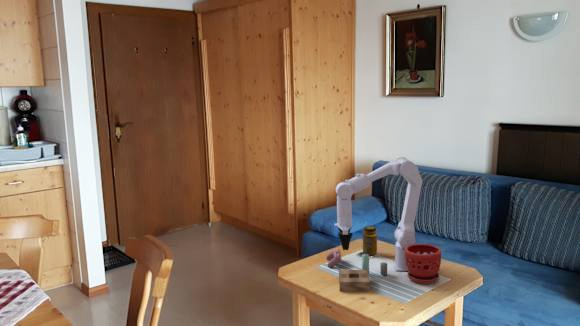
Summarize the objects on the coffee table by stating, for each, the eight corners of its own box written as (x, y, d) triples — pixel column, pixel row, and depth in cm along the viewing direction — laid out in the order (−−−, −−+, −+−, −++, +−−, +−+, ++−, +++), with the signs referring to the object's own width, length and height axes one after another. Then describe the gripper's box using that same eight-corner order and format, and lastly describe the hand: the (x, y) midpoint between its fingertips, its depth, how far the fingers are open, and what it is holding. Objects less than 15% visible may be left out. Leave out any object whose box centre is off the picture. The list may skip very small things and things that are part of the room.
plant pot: (447, 277, 183) (447, 247, 180) (429, 289, 174) (429, 257, 171) (416, 269, 192) (416, 240, 190) (398, 279, 183) (398, 249, 181)
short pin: (386, 273, 189) (386, 262, 188) (387, 276, 186) (387, 264, 186) (380, 273, 189) (380, 262, 188) (380, 276, 186) (380, 264, 186)
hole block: (367, 278, 185) (367, 269, 184) (370, 290, 174) (370, 281, 173) (338, 278, 186) (338, 269, 185) (339, 291, 175) (339, 281, 174)
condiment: (381, 253, 210) (381, 227, 208) (369, 259, 204) (369, 231, 202) (367, 249, 215) (366, 223, 213) (355, 255, 209) (355, 228, 207)
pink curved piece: (336, 271, 196) (344, 256, 195) (326, 267, 196) (334, 252, 195) (335, 262, 206) (342, 248, 205) (325, 258, 206) (332, 243, 205)
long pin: (368, 273, 189) (368, 253, 188) (369, 276, 187) (369, 256, 185) (362, 273, 190) (361, 254, 188) (362, 276, 187) (362, 256, 186)
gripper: (334, 208, 197) (334, 240, 199) (334, 218, 182) (335, 253, 185) (351, 208, 196) (352, 240, 198) (353, 218, 182) (353, 252, 184)
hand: (345, 246), depth 192 cm, fingers open, 7 cm apart
